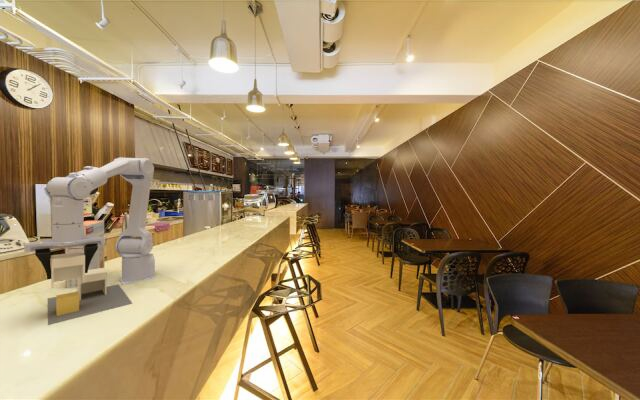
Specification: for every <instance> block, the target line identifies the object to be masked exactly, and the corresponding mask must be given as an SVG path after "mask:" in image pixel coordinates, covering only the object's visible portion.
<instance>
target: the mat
mask: <svg viewBox="0 0 640 400" xmlns="http://www.w3.org/2000/svg"><path fill="white" fill-rule="evenodd" d="M132 304H133V302H132V300H131V299H130V298H129V297H128V295H127V294H126V293H125V291H124V289H122V287H121V286H120V284H113V285H108V286H107V295H105V294H104V292H103V290H99V291H94V292H89V293H84V294H81V300H80V301H79V311H75V312H71V313H67V314H63V315H59V316H57V312H56V296H53V297H48V298H47V326H51V325H53V324H59V323H62V322H66V321H70V320H74V319H77V318H82V317H86V316H89V315H93V314H97V313H101V312H105V311H109V310H112V309H116V308H121V307H125V306H128V305H132Z"/></svg>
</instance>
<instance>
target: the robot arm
mask: <svg viewBox="0 0 640 400" xmlns="http://www.w3.org/2000/svg"><path fill="white" fill-rule="evenodd" d="M154 172H155V166H154V164H153V162H152V161H151V159H149V158H148V157H143V158H142V157H141V158H140V157H136V158H135V157H123V156H119V157H117V158H114V159H113V161H111V162H108V163H106V164H105V165H103V166H101V167H96V166H92V165H91V166H90V165H87V166H83V169H82V170H80V171H77V172H70V173H68V175H67V176H63V177H62V176H57V177H53V178H52V179H50V180H49V181H48V182H47V184H46V186H44V193H45V195H46V196H47V197H48V199H49V204H50V205H51V240H44V241H43V240H42V241H33V242H25V243H24V245H23V246H24V247H23V248H24V249H23V250H24V253H31V252H35V253H34V255H35V257H36V258H37V259H38V260H39V261H40V263H41V265H42V266H43V269H44V271H45V273H46V277H47V278H46V279H47V280H51V256H52V255H51V250H55V249H65V248H68V247H78V246H84V255H85V273H88V268H89V265H90V262H91V260H92V258H93V256H94V254H95V252H96V251H97V249H98V244H100V245H103V244H104V245H107V244H106V242H107V241H106V240H107V239H106V236H104V237H88V238H84V223H83V222H84V218H85V216H84V215H85V212H84V211H85V210H84V209H85V204H84V202H85V199H87V198H88V197H89V196H90V195H91V192H92V191H93V190H96V189H97V188H99V187H101V186H104V185H105V184H107V182H108V179H109V178H112V177H114V176H117V175H120V177H122V178H123V179H124V180H125V181H126V182H128V183H130V184H131V186H132V188H131V197H130V204H129V209H128V211H129V212H128V220H127V228H125V229H124V230H122V231H121V232H119V234H118V239H117V240H116V242H115V247H114V249H115V252H116V253H117V254H119V257H121V277H118V280H119V281H120V283H121V285H126V284H132V283H136V282H143V281H147V280H151V279H155V278H156V276H155V272H156V265H155V264H156V262H155V260H156V258H155V255H154V253H151V252H152V250H153V249H154V242H153V234H152V232H150V231H149V230H148V229H146V224H147V216H148V207H149V201H150V200H149V199H150V192H151V183H153V179H154V174H155V173H154ZM74 244H76V245H74ZM65 245H66V246H65Z"/></svg>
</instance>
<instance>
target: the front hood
mask: <svg viewBox="0 0 640 400" xmlns="http://www.w3.org/2000/svg"><path fill="white" fill-rule="evenodd" d="M50 265H51V279H50V285H51V288H50V289H54V286H55V285H54V284H55V283H58V282H62V281H66V280H69V279H75V278H81V279H82V281H83V283H84V282H85V255H84V253H83V252H78V253H69V254H65V253H61V254H53V255H51V262H50Z"/></svg>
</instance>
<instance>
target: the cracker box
mask: <svg viewBox="0 0 640 400" xmlns="http://www.w3.org/2000/svg"><path fill="white" fill-rule="evenodd" d="M83 223H84V238H88V237H105V220H85V221H84V222H83ZM74 245H76V244H74ZM64 246H66V245H64ZM78 252H83V253H84V246H78V247H68V248H64V254H69V253H78ZM98 268H104V269H105V244H103V245H100V244H98V249H97V251H96V252H95V254H94V256H93V258H92V260H91V262H90V265H89V268H88V270H91V269H98ZM73 288H74V289H75V288H78V278H75V279H69V280H65V289H73Z"/></svg>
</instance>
